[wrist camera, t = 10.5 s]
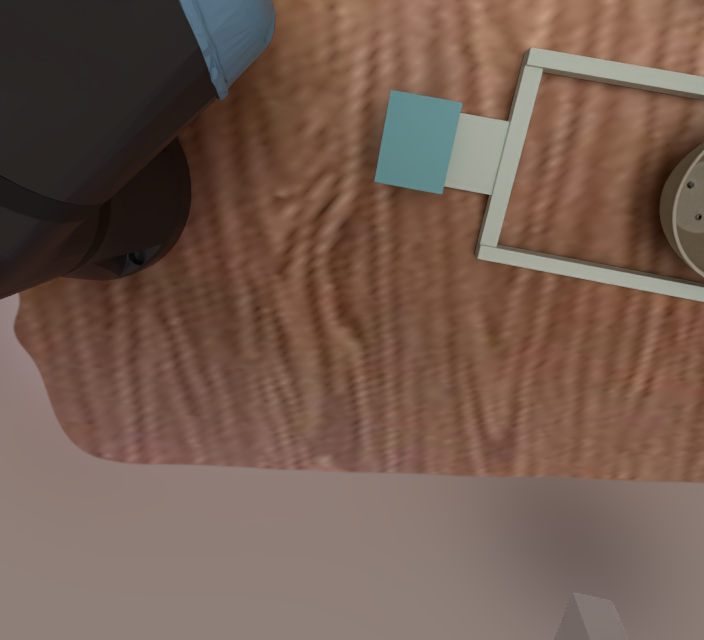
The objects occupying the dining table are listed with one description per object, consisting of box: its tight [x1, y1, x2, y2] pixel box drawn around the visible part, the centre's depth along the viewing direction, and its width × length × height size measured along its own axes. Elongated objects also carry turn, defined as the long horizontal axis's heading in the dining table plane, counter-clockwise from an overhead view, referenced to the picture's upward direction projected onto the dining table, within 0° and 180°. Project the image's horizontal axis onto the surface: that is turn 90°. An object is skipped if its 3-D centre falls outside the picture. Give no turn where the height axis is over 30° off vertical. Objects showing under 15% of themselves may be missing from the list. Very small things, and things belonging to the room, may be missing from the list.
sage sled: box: [374, 47, 704, 302], centre depth 34 cm, size 28×14×9 cm, turn 80°
